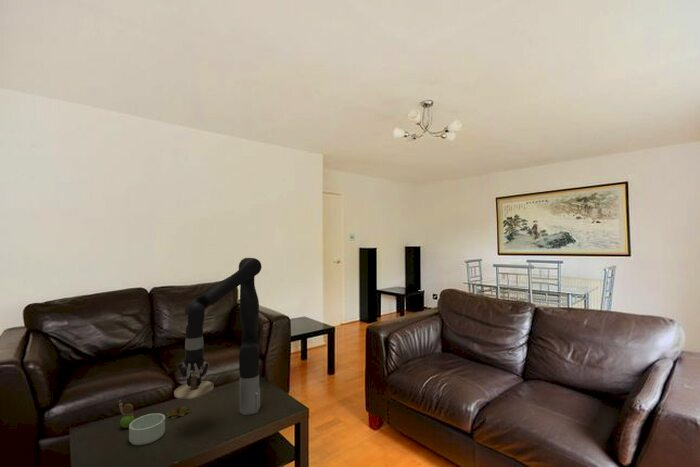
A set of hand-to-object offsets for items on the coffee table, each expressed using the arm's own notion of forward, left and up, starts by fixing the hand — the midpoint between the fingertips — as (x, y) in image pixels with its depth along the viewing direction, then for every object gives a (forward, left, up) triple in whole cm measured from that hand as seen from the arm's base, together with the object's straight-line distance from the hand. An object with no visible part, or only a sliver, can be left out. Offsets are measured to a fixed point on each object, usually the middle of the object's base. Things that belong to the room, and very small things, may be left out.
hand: (194, 385), depth 146 cm
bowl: (+18, +5, -19) cm, 26 cm away
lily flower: (+14, -14, -20) cm, 28 cm away
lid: (0, 0, -2) cm, 2 cm away
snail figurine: (+32, -3, -19) cm, 37 cm away
